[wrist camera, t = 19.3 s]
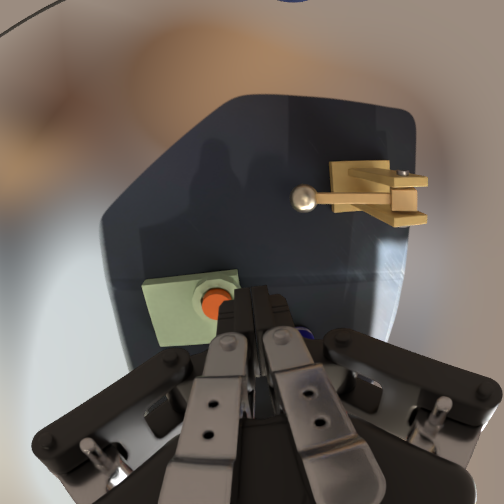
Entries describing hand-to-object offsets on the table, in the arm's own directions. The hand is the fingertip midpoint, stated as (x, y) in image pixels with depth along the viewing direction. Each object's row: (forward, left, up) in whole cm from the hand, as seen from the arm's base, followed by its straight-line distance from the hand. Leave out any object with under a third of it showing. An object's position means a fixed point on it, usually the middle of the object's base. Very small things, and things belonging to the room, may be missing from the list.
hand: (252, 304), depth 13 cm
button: (+1, -13, -23) cm, 27 cm away
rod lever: (+11, +6, -19) cm, 23 cm away
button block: (-2, -17, -27) cm, 32 cm away
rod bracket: (+15, +8, -27) cm, 32 cm away
